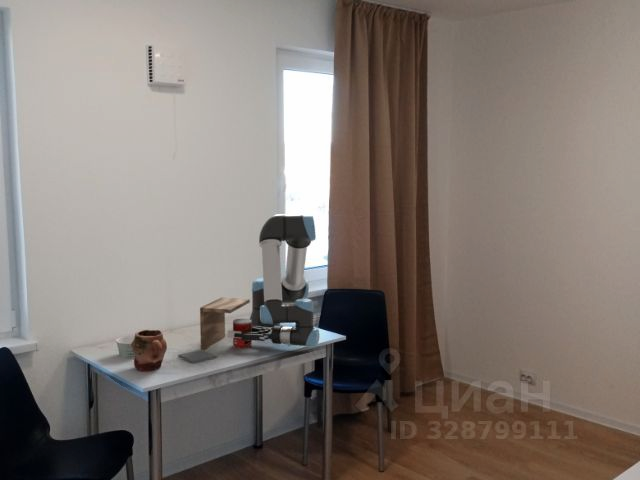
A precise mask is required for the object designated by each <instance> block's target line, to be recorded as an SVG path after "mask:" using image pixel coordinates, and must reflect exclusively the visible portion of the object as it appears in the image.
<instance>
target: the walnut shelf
mask: <svg viewBox="0 0 640 480" xmlns="http://www.w3.org/2000/svg"><path fill="white" fill-rule="evenodd" d="M250 301H251V300H250V298H234V297H220V298H217V299H215V300H214V301H211V302H209V303H207V304H205V305H202V306H200V307H199V316H200V317H199V318H200V320H199V323H200V324H199V325H200V329H199V331H200V332H199V333H200V334H199V335H200V350H204V351H206V350H207V349H209V348H210V347H211V346H213V345H215V344H217V343H218V342H219V341H221V340H222V339H224V338H226V314H231V313H234V312H235V311H237V310H239V309H241V308H242V307H245V306H246V305H248V304H249V303H250Z"/></svg>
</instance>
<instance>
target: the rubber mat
mask: <svg viewBox="0 0 640 480" xmlns="http://www.w3.org/2000/svg"><path fill="white" fill-rule="evenodd" d="M177 356H178V358H180V359H182V360H183V361H187V362H188V363H191V364H194V363H201V362H203V361H208V360H213V359H217V356H218V355H217V354H214V353H212V352H209V351H206V350H201V349H199V350H198V349H197V350H194V351H190V352H183V353H180V354H178V355H177Z"/></svg>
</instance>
